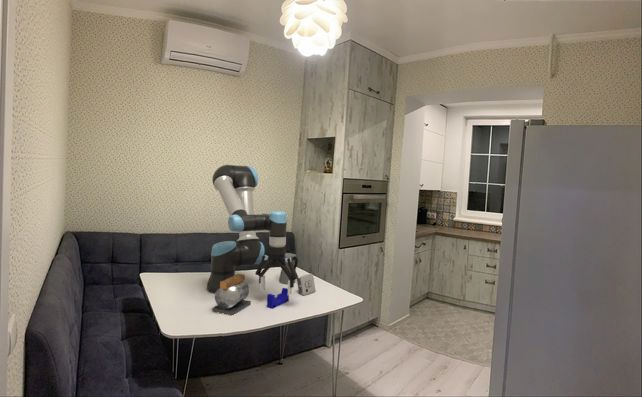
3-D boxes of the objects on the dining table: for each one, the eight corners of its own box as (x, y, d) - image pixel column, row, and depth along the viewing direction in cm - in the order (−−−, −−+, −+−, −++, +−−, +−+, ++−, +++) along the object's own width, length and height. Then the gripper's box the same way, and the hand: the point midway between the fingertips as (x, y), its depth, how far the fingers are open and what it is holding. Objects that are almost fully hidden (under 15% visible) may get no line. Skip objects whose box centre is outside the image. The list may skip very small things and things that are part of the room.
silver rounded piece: (232, 315, 136) (233, 284, 136) (211, 311, 139) (212, 280, 139) (250, 304, 149) (251, 275, 149) (231, 300, 153) (232, 272, 152)
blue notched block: (280, 299, 158) (281, 287, 158) (288, 301, 156) (289, 289, 155) (264, 307, 148) (264, 293, 147) (272, 309, 145) (272, 295, 145)
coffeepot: (273, 280, 188) (274, 248, 187) (287, 277, 194) (289, 247, 193) (288, 287, 176) (290, 253, 175) (303, 284, 182) (304, 251, 181)
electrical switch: (303, 296, 164) (303, 277, 164) (295, 294, 167) (295, 276, 167) (315, 292, 171) (315, 273, 171) (308, 290, 174) (307, 272, 174)
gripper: (248, 244, 151) (247, 291, 152) (299, 249, 143) (298, 298, 144) (257, 242, 159) (255, 286, 159) (306, 246, 150) (304, 293, 151)
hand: (275, 292), depth 151 cm, fingers open, 13 cm apart
